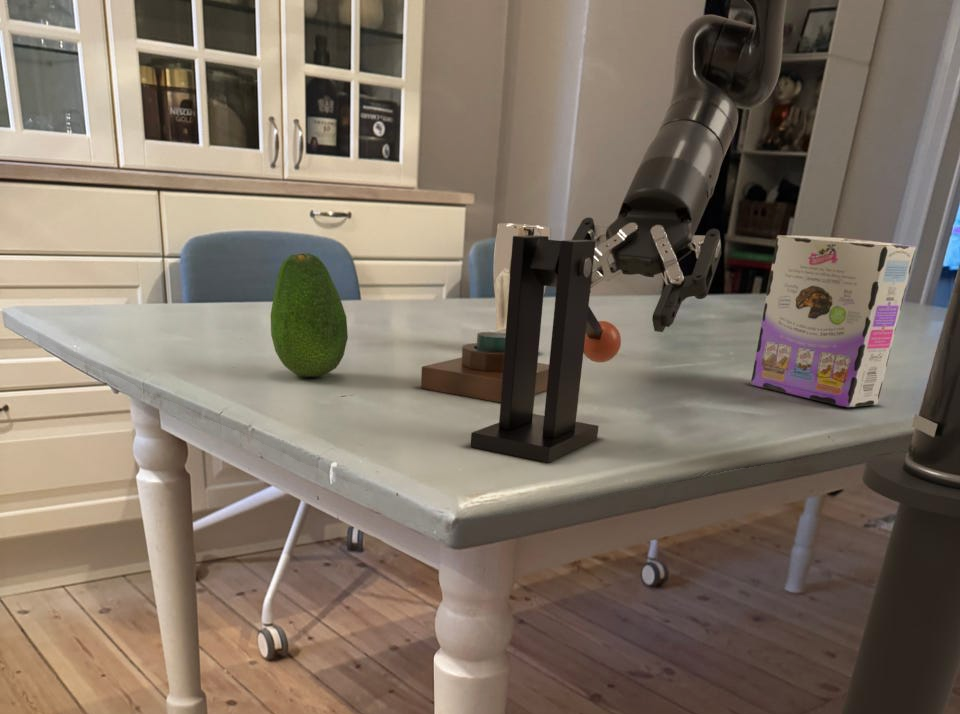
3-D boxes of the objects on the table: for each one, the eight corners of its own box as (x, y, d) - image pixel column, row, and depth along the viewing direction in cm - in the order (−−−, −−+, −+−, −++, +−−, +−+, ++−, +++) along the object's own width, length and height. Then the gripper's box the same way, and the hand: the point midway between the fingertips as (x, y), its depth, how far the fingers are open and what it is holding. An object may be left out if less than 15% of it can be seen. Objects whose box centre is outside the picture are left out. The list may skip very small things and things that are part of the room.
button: (516, 352, 97) (518, 335, 96) (500, 356, 94) (502, 338, 93) (486, 348, 98) (487, 330, 98) (470, 351, 96) (471, 334, 95)
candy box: (879, 406, 103) (920, 244, 95) (847, 410, 99) (886, 243, 92) (779, 381, 112) (809, 234, 105) (747, 384, 109) (775, 232, 102)
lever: (582, 365, 87) (594, 329, 87) (618, 371, 85) (630, 334, 85) (518, 274, 71) (532, 229, 71) (561, 279, 69) (575, 233, 70)
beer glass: (533, 348, 124) (544, 225, 117) (547, 357, 118) (559, 228, 111) (482, 346, 122) (490, 222, 116) (494, 355, 116) (503, 225, 109)
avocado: (259, 372, 97) (254, 248, 92) (326, 368, 101) (325, 250, 96) (292, 387, 91) (289, 256, 86) (362, 382, 96) (363, 257, 90)
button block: (557, 386, 101) (561, 348, 99) (506, 403, 91) (510, 361, 89) (477, 373, 105) (479, 336, 103) (420, 388, 95) (422, 347, 93)
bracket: (525, 425, 83) (541, 233, 76) (597, 439, 80) (621, 241, 73) (470, 447, 75) (483, 235, 68) (548, 463, 72) (569, 243, 65)
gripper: (597, 149, 89) (534, 282, 85) (743, 157, 83) (683, 300, 79) (611, 210, 96) (552, 336, 92) (747, 222, 90) (691, 357, 86)
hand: (613, 319), depth 86 cm, fingers open, 8 cm apart
